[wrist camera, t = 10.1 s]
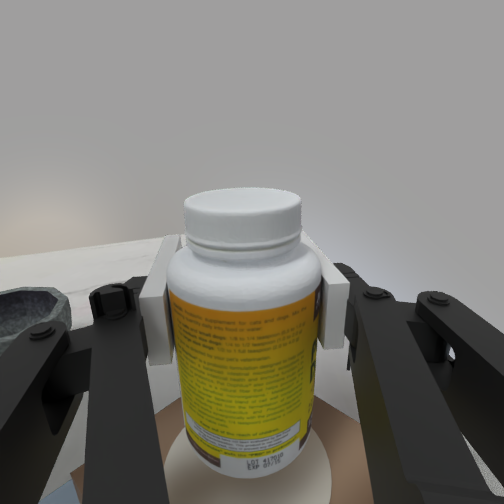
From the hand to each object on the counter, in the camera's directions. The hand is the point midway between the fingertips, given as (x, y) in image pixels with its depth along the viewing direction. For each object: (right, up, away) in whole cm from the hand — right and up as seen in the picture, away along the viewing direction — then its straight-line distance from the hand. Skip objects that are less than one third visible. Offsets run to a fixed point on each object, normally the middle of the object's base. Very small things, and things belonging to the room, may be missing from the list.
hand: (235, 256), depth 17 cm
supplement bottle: (+1, -8, -3) cm, 8 cm away
